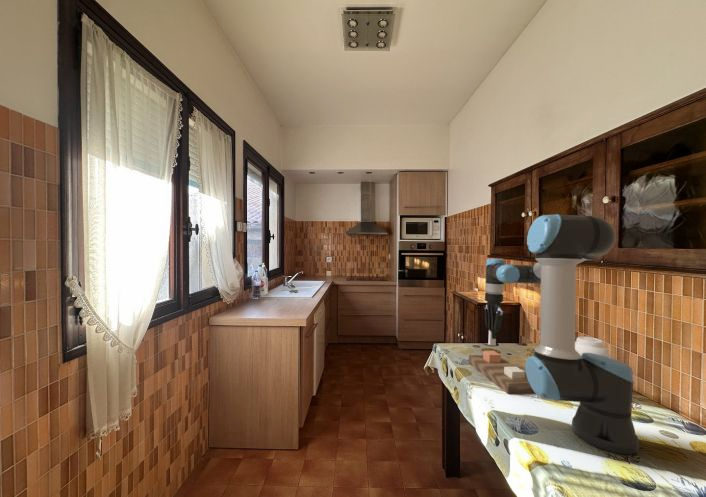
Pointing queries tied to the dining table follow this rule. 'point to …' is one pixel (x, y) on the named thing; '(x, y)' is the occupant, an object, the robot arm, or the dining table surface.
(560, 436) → the dining table surface
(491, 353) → the orange block
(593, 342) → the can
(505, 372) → the cream block
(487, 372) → the wooden board
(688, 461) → the dining table surface
